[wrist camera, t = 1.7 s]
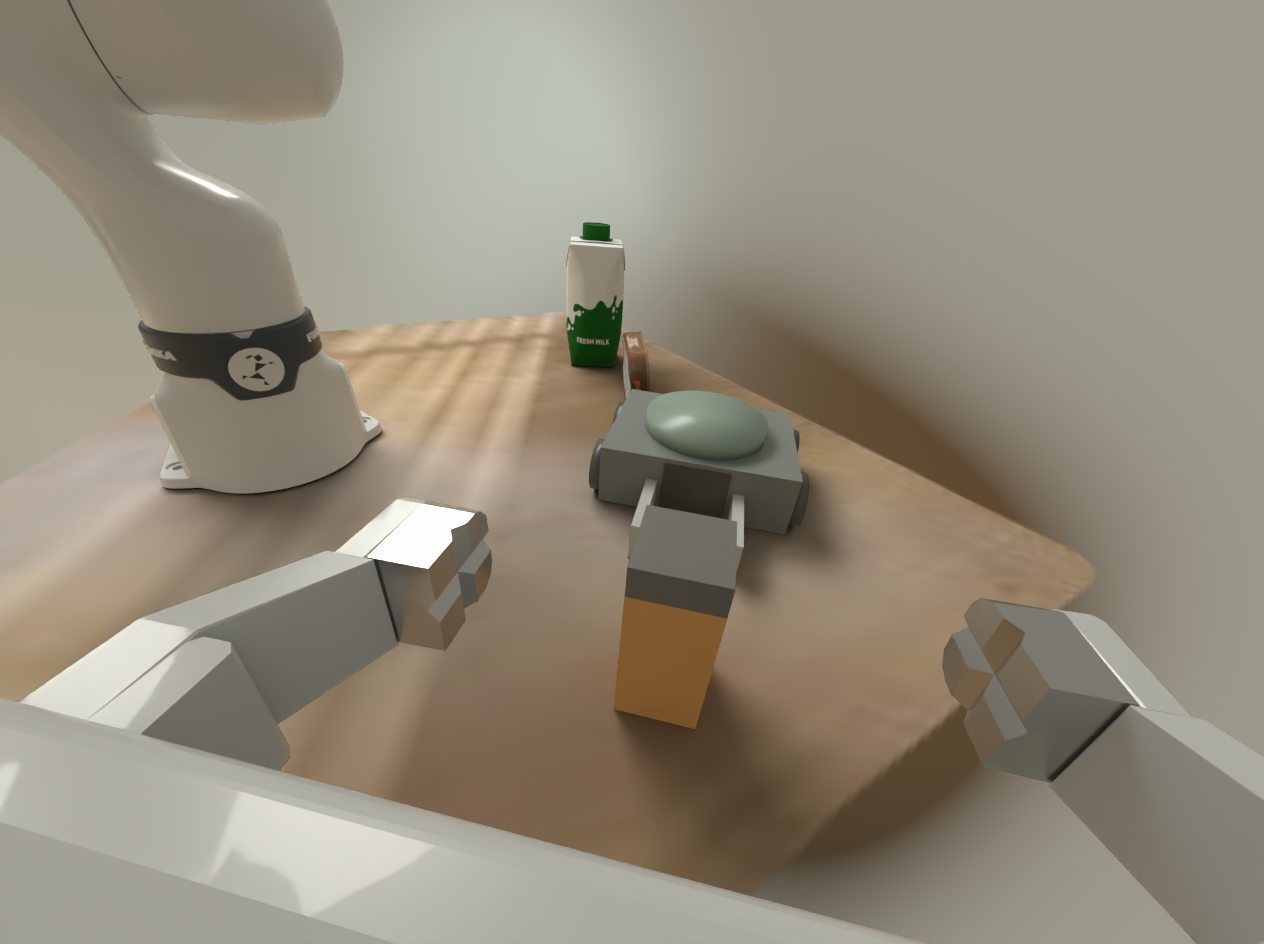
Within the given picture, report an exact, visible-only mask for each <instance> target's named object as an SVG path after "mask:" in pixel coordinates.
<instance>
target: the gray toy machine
mask: <svg viewBox="0 0 1264 944" xmlns="http://www.w3.org/2000/svg"><path fill="white" fill-rule="evenodd" d="M798 448H799V432H798V431H797V430H793V426H792V421H791V415H790V413H784V412H777V411H771V410H764V409H758V408H755V407H753V406H751V405H750V404H748V403H746V402H744V401H741V400H739V399H736V398H733V397H730V396H727V395H723V394H718V393H713V392H706V391H676V392H671V393H667V394H661V393H654V392H648V391H641V390H635V389H632V390H631V392H630V394H629V395H628V397H627V399H626V401H625V403H619V404H618V406H617V408H616V411H615V415H614V420H613V425H612V427H611V429H610V431H609V433H608V434H607V436H606V438H605V440H603V439H599V440H598V441H597V443H596V445H595V448H594V451H593V454H592V459H591V464H590V471H589V484H590V487H591V488H593V489H598V490H599V496H598V500H602V501H607V502H612V503H618V504H623V505H628V506H634V507H637V509H636V512H635V515H634V518H633V521H632V524H631V530H630V541H629V551H628V557H629V558H631V554H632V551H633V548H634V544H635V541H636V538H637V535H638V531H639V528H640V525H641V521H642V518H643V515H644V512H645V508H646V505H652V506H657V507H662V508H668V509H673V510H678V511H684V512H689V513H694V514H700V515H705V516H710V517H716V518H721V519H727V520H732V521H737V550H736V573H737V570H738V566H739V563H740V559H741V556H742V552H743V548H744V527H745V528H751V529H756V530H761V531H767V532H772V533H777V534H783V535H785V533H786V530H787V527H788V525H793V526H798V525H799V524H800V523H801V521H802V518H803V516H804V513H805V509H806V505H807V500H808V492H809V480H808V476H807V474H803V473H801V469H800V464H799V459H798Z"/></svg>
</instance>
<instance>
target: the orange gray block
mask: <svg viewBox="0 0 1264 944" xmlns="http://www.w3.org/2000/svg"><path fill="white" fill-rule="evenodd" d="M736 550H737V521H732V520H727V519H721V518H716V517H710V516H705V515H700V514H694V513H689V512H684V511H678V510H673V509H668V508H662V507H657V506H652V505H646V508H645V512H644V515H643V518H642V521H641V525H640V528H639V531H638V535H637V538H636V541H635V544H634V548H633V551H632V554H631V558H630V561H629V564H628V568H627V578H626V588H625V599H624V609H623V619H622V630H621V640H620V650H619V661H618V671H617V681H616V692H615V702H614V709H615V710H619V711H623V712H627V713H631V714H635V715H639V716H643V717H647V718H651V719H655V720H659V721H663V722H667V723H671V724H675V725H679V726H684V727H688V728H692V729H696V726H697V723H698V719H699V716H700V712H701V709H702V705H703V702H704V698H705V695H706V691H707V688H708V684H709V681H710V677H711V674H712V670H713V667H714V663H715V660H716V656H717V653H718V649H719V646H720V642H721V639H722V635H723V632H724V628H725V625H726V621H727V618H728V614H729V611H730V607H731V604H732V600H733V597H734V593H735V589H736Z"/></svg>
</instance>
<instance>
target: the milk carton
mask: <svg viewBox="0 0 1264 944" xmlns="http://www.w3.org/2000/svg"><path fill="white" fill-rule="evenodd" d="M609 237H610V225H608V224H603V223H583V237H582V236H581V237H572V238H571V240H570V244H569V248H570V249H569V248H568V253H569V257H568V253H567V259H568V267H567V281H566V285H567V286H566V290H567V293H566V294H567V295H566V296H567V335H568V342H569V349H570V356H571V364H572V366H591V367H615V362H616V356H617V351H618V346H619V341H620V335H621V325H622V324H621V323H622V309H623V293H624V271H625V256H624V248H623V244H622V242H621V241H620V240H613V239H609ZM566 266H567V261H566Z"/></svg>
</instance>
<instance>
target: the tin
mask: <svg viewBox="0 0 1264 944" xmlns="http://www.w3.org/2000/svg"><path fill="white" fill-rule="evenodd" d="M623 346H624V361H623V382H624V391H625V399H627V397H628V395H629V394H630V392H631V390H632V389H635V390H641V391H648V392H649V364H648V355H647V350H646V346H645V343H644V339H643V335H642V332H628V333H624V334H623Z"/></svg>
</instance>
